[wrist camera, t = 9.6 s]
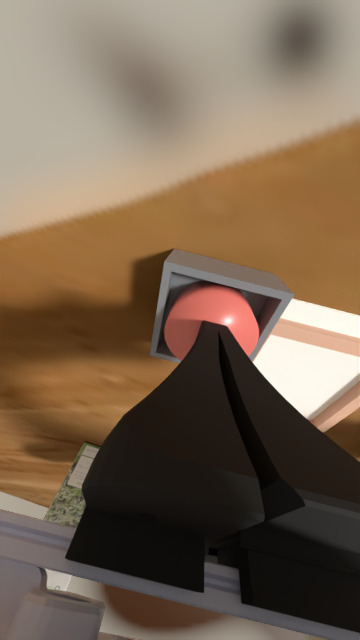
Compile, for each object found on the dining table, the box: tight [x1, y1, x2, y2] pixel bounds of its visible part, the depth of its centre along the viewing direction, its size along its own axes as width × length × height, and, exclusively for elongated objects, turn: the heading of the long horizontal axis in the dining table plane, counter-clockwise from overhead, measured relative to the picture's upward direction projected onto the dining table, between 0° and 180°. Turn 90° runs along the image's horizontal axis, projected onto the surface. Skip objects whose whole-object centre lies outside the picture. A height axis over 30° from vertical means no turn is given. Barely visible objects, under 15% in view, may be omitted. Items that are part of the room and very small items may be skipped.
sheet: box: [253, 298, 360, 420], centre depth 20 cm, size 12×29×1 cm, turn 168°
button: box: [164, 281, 259, 361], centre depth 10 cm, size 5×5×2 cm
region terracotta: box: [252, 318, 360, 433], centre depth 15 cm, size 11×11×1 cm
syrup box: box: [43, 443, 100, 591], centre depth 24 cm, size 6×6×14 cm
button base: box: [149, 249, 295, 363], centre depth 11 cm, size 6×6×3 cm
